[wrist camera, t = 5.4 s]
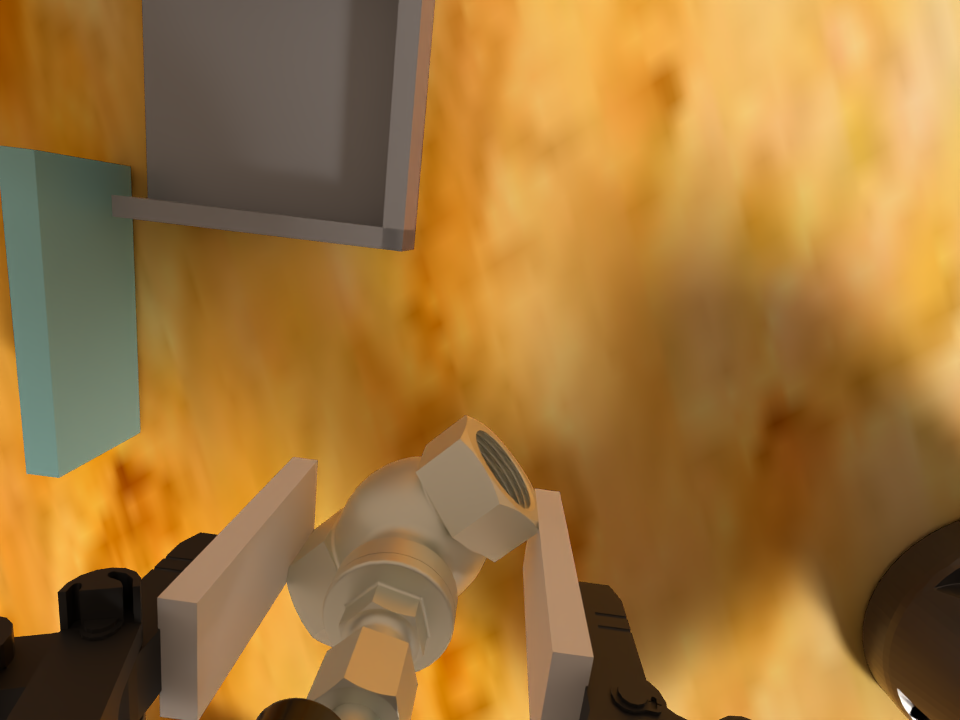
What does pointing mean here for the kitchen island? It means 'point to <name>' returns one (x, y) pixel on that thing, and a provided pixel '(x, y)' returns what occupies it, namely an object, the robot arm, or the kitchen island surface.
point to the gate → (70, 306)
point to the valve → (403, 570)
